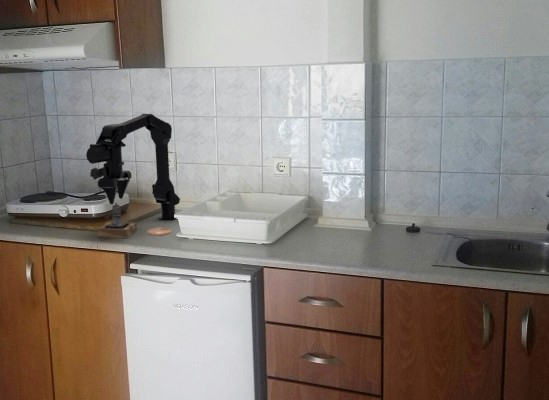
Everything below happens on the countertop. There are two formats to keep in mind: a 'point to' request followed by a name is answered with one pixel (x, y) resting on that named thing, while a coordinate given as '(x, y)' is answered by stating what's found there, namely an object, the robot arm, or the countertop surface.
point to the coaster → (159, 231)
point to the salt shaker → (116, 218)
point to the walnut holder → (117, 230)
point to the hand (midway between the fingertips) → (116, 201)
